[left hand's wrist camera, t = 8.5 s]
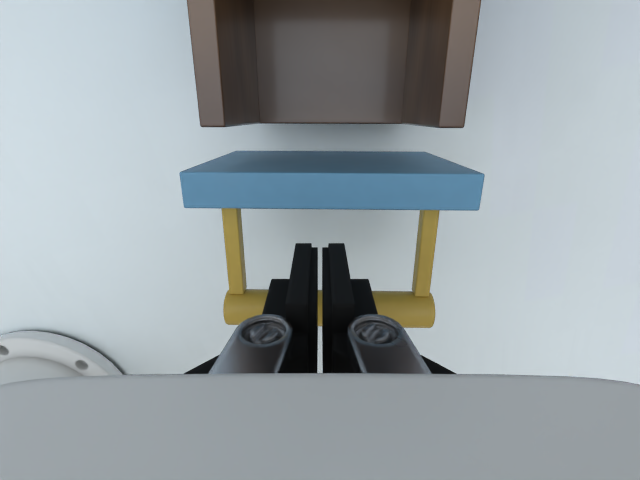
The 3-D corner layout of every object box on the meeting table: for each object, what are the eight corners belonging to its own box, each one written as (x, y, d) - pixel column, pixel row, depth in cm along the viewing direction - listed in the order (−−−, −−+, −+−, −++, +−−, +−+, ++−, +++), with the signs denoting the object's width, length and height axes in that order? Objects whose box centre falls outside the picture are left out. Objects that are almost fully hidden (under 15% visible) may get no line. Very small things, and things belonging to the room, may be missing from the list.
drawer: (413, 272, 20) (456, 352, 13) (244, 270, 20) (202, 348, 13) (480, -382, 12) (683, -1051, 5) (194, -375, 12) (22, -1006, 5)
